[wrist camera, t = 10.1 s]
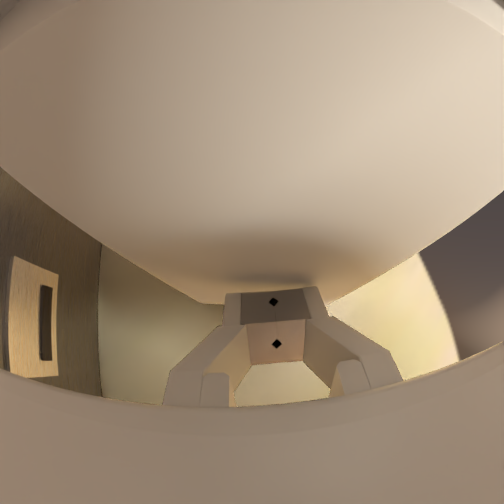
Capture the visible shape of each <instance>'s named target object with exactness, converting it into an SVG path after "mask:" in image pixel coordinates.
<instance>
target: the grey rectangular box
mask: <svg viewBox="0 0 504 504" xmlns="http://www.w3.org/2000/svg"><path fill="white" fill-rule="evenodd" d="M101 244H102V243H101V242H99V241H98V240H96V239H95V238H93V237H92V236H90V235H89V234H87V233H86V232H85V231H83V230H82V229H80V228H79V227H77V226H76V225H75V224H73V223H72V222H70V221H69V220H68V219H66V218H65V217H63V216H62V215H61V214H59V213H58V212H57V211H55V210H54V209H52V208H51V207H50V206H48V205H47V204H46V203H45V202H43V201H42V200H41V199H39V198H38V197H37V196H35V195H34V194H33V193H32V192H30V191H29V190H28V189H27V188H25V187H24V186H23V185H22V184H20V183H19V182H18V181H17V180H15V179H14V178H13V177H12V176H11V175H9V174H8V173H7V172H6V171H5V170H3V169H2V168H1V167H0V368H1V369H3V370H6V371H9V372H11V373H14V374H17V375H20V376H22V377H25V378H28V379H32V380H35V381H38V382H41V383H45V384H48V385H52V386H55V387H59V388H63V389H67V390H71V391H75V392H80V393H84V394H89V395H94V396H99V397H102V392H101V383H100V372H99V358H98V332H97V307H98V280H99V266H100V254H101Z"/></svg>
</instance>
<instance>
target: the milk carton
mask: <svg viewBox="0 0 504 504" xmlns="http://www.w3.org/2000/svg"><path fill="white" fill-rule="evenodd" d="M0 167H1V168H2V169H3V170H5V171H6V172H7V173H8V174H9V175H11V176H12V177H13V178H14V179H15V180H17V181H18V182H19V183H20V184H22V185H23V186H24V187H25V188H27V189H28V190H29V191H30V192H32V193H33V194H34V195H35V196H37V197H38V198H39V199H41V200H42V201H43V202H45V203H46V204H47V205H48V206H50V207H51V208H52V209H54V210H55V211H57V212H58V213H59V214H61V215H62V216H63V217H65V218H66V219H68V220H69V221H70V222H72V223H73V224H75V225H76V226H77V227H79V228H80V229H82V230H83V231H85V232H86V233H87V234H89V235H90V236H92V237H93V238H95V239H96V240H98V241H99V242H101V243H102V244H104V245H105V246H107V247H108V248H110V249H111V250H113V251H114V252H116V253H117V254H119V255H121V256H122V257H124V258H125V259H127V260H128V261H130V262H132V263H133V264H135V265H136V266H138V267H140V268H141V269H143V270H144V271H146V272H148V273H149V274H151V275H153V276H154V277H156V278H158V279H159V280H161V281H163V282H164V283H166V284H168V285H170V286H171V287H173V288H175V289H176V290H178V291H180V292H182V293H183V294H185V295H187V296H189V297H190V298H192V299H194V300H196V301H198V302H199V303H202V304H224V301H225V295H226V293H239V292H241V293H242V292H258V291H278V290H288V289H298V288H304V287H311V286H317V287H318V289H319V292H320V295H321V297H322V300H323V302H324V305H328V304H330V303H332V302H334V301H336V300H337V299H339V298H341V297H343V296H345V295H347V294H349V293H350V292H352V291H354V290H356V289H358V288H359V287H361V286H363V285H365V284H367V283H368V282H370V281H372V280H373V279H375V278H377V277H379V276H380V275H382V274H384V273H385V272H387V271H389V270H390V269H392V268H394V267H395V266H397V265H399V264H400V263H402V262H404V261H405V260H407V259H408V258H410V257H412V256H413V255H415V254H416V253H418V252H419V251H421V250H422V249H424V248H426V247H427V246H429V245H430V244H432V243H433V242H434V241H436V240H438V239H439V238H441V237H442V236H443V235H445V234H446V233H448V232H449V231H451V230H452V229H454V228H455V227H456V226H457V225H459V224H461V223H462V222H463V221H465V220H466V219H467V218H469V217H470V216H471V215H473V214H474V213H475V212H477V211H478V210H479V209H481V208H482V207H483V206H485V205H486V204H487V203H489V202H490V201H491V200H492V199H493V198H495V197H496V196H497V195H499V194H500V193H501V192H502V191H503V190H504V0H0Z"/></svg>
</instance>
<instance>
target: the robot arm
mask: <svg viewBox="0 0 504 504" xmlns="http://www.w3.org/2000/svg"><path fill="white" fill-rule="evenodd" d="M292 361H303V362H304V363H305V364H306V365H307V366H308V367H309V368H310V369H311V370H312V371H313V372H314V373H315V374H316V375H317V376H318V377H319V378H320V379H321V380H322V381H323V382H324V383H325V384H326V385H327V386H328V387H329V388H330V389H331V390H330V394H329V397H328V398H325V399H318V400H311V401H304V402H296V403H287V404H276V405H263V406H245V407H237V406H236V402H235V398H234V391H235V390H236V388H237V387H238V385H239V384H240V382H241V381H242V379H243V378H244V376H245V375H246V373H247V372H248V370H249V369H250V367H251V365H259V364H269V363H279V362H292ZM0 504H504V341H502V342H501V343H498V344H497V345H494V346H492V347H490V348H488V349H487V350H484V351H482V352H480V353H478V354H475V355H473V356H471V357H469V358H466V359H464V360H461V361H459V362H456V363H454V364H451V365H449V366H446V367H443V368H441V369H438V370H435V371H432V372H429V373H426V374H423V375H420V376H417V377H414V378H411V379H408V380H404V381H403V379H402V377H401V375H400V372H399V370H398V368H397V366H396V364H395V362H394V360H393V358H392V356H391V354H390V352H389V351H388V350H387V349H385V348H383V347H382V346H380V345H378V344H377V343H375V342H374V341H372V340H370V339H369V338H367V337H366V336H364V335H362V334H361V333H359V332H358V331H356V330H354V329H353V328H351V327H350V326H348V325H346V324H345V323H343V322H342V321H340V320H338V319H337V318H335V317H334V316H332V317H329V315H328V313H327V310H326V307H325V305H324V302H323V300H322V297H321V295H320V292H319V289H318V287H317V286H311V287H304V288H298V289H288V290H278V291H258V292H242V293H241V292H239V293H226V295H225V301H224V312H223V322H222V326H217V327H216V328H215V329H214V330H213V331H212V332H211V333H210V334H209V335H208V336H207V337H206V338H205V339H204V340H203V341H202V342H201V343H200V344H198V345H197V346H196V347H195V348H194V349H193V350H192V351H191V352H190V353H189V354H188V355H187V356H186V357H185V358H184V359H183V360H181V361H180V362H179V363H178V364H177V365H176V366H175V367H174V368H173V369H172V370H171V371H170V373H169V378H168V382H167V386H166V391H165V395H164V400H163V404H162V405H158V404H148V403H139V402H131V401H123V400H117V399H111V398H105V397H99V396H94V395H89V394H84V393H80V392H75V391H71V390H67V389H63V388H59V387H55V386H52V385H48V384H45V383H41V382H38V381H35V380H32V379H28V378H25V377H22V376H20V375H17V374H14V373H11V372H9V371H6V370H3V369H1V368H0Z"/></svg>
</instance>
